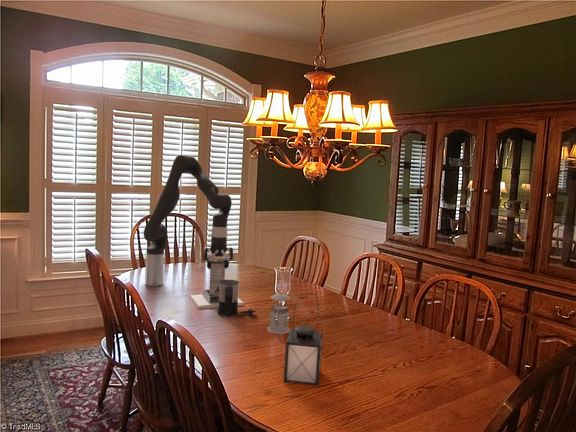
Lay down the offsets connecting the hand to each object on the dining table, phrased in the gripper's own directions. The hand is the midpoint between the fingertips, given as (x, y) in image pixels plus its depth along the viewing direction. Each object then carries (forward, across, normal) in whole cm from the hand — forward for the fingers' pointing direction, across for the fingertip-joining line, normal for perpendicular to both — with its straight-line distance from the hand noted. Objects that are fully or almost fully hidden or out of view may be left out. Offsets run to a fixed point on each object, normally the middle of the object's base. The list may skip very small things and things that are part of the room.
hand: (217, 268), depth 228 cm
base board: (+17, 0, 0) cm, 17 cm away
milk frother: (+17, -4, +21) cm, 27 cm away
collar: (+15, 0, 0) cm, 15 cm away
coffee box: (+12, 0, 0) cm, 12 cm away
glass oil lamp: (+16, -14, +45) cm, 50 cm away
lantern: (+16, -5, +87) cm, 89 cm away
